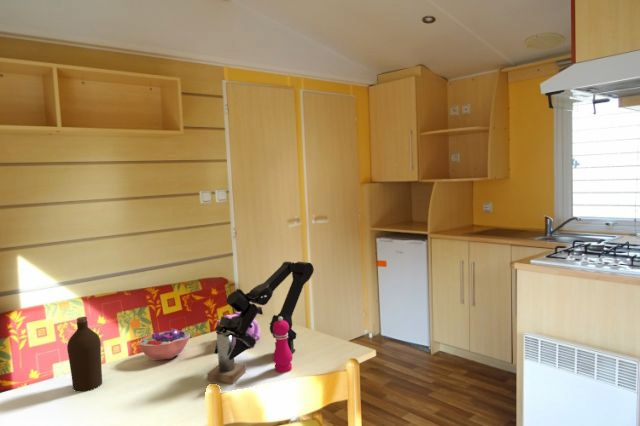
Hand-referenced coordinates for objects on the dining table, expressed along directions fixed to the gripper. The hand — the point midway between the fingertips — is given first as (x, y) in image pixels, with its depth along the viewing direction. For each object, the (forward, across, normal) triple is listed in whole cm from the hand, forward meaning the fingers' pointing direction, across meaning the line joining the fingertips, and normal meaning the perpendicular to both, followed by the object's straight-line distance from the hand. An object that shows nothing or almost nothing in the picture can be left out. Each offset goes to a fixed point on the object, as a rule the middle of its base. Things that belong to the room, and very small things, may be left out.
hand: (222, 356), depth 164 cm
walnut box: (+5, 0, +7) cm, 8 cm away
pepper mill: (-7, +11, +19) cm, 23 cm away
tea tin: (+3, 0, +5) cm, 5 cm away
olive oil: (+30, -34, -19) cm, 49 cm away
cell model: (+8, -37, +3) cm, 38 cm away
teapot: (-11, -26, +23) cm, 36 cm away
